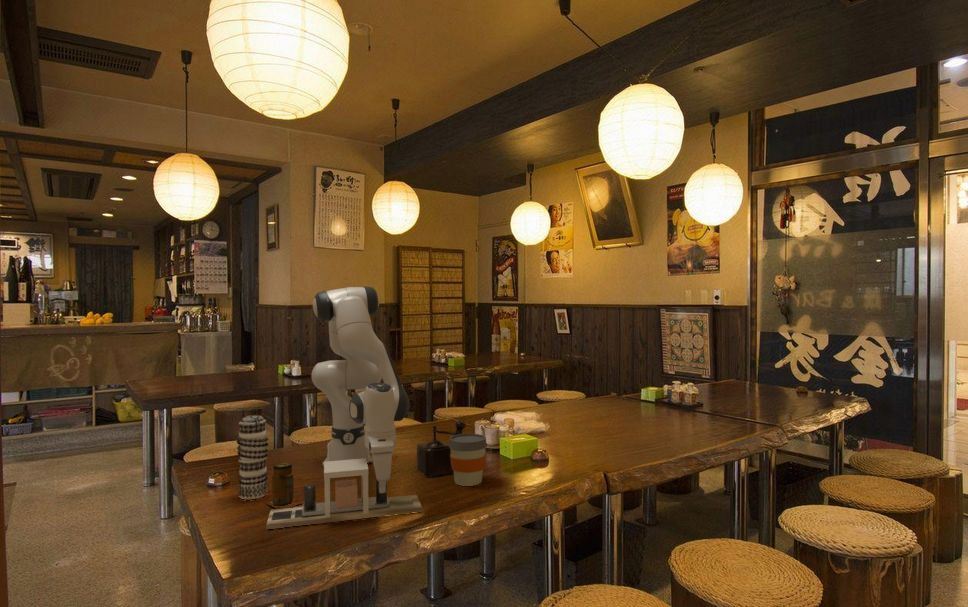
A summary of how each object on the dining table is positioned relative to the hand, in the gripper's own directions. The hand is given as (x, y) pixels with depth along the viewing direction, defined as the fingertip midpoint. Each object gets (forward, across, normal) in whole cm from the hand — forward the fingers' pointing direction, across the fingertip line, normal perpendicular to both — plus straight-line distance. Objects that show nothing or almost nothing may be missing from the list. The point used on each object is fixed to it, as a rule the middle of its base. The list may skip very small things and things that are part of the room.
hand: (380, 487), depth 162 cm
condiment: (+7, -13, -28) cm, 32 cm away
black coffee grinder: (+7, -32, +24) cm, 40 cm away
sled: (+5, 0, -10) cm, 11 cm away
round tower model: (+7, -24, -38) cm, 45 cm away
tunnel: (+5, 0, -10) cm, 11 cm away
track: (+7, 0, -10) cm, 12 cm away
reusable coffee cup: (+7, -16, +30) cm, 35 cm away
